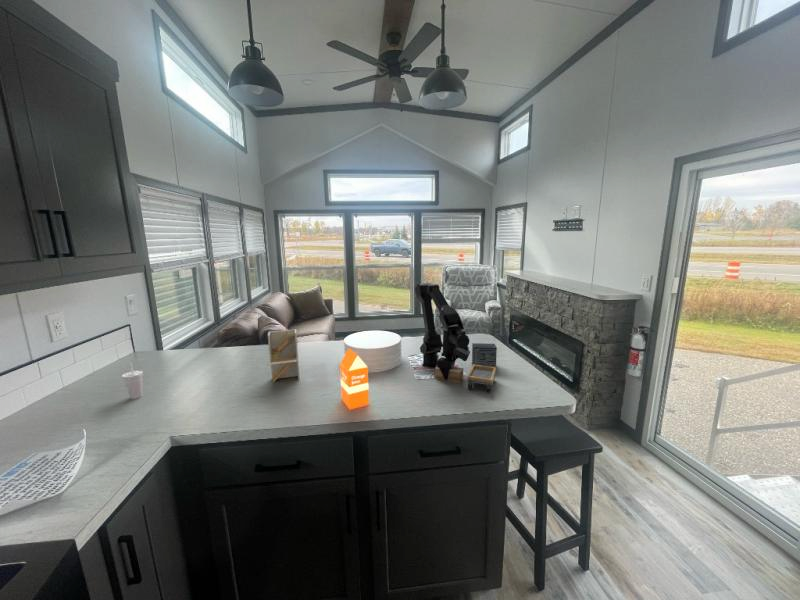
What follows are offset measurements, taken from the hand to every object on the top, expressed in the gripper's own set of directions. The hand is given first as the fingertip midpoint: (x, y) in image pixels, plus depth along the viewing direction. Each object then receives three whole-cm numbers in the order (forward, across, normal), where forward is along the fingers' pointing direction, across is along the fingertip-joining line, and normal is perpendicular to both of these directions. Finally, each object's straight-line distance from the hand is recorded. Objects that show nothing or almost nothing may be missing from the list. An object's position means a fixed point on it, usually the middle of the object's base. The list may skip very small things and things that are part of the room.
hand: (448, 375), depth 141 cm
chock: (+2, 0, 0) cm, 2 cm away
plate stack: (+2, +7, +40) cm, 41 cm away
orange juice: (+2, -32, +28) cm, 43 cm away
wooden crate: (+2, -26, +66) cm, 71 cm away
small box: (+2, +19, -12) cm, 23 cm away
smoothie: (+2, -60, +110) cm, 125 cm away
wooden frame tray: (+1, -1, -14) cm, 14 cm away
